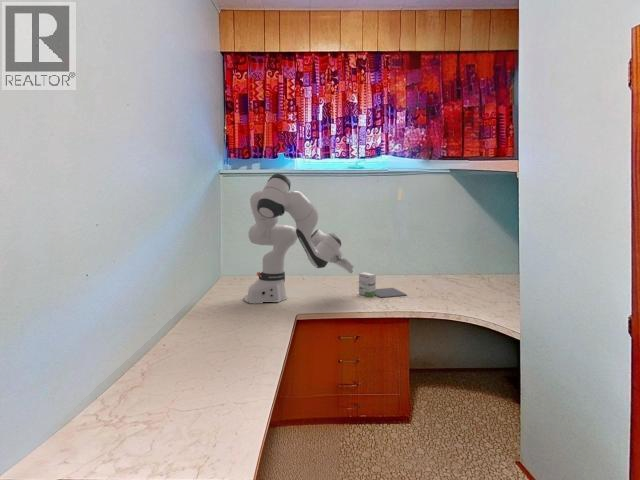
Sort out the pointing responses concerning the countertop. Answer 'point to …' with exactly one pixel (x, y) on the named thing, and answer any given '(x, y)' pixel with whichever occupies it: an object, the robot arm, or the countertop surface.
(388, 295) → the mat
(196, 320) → the countertop surface
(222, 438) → the countertop surface
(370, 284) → the ink box
